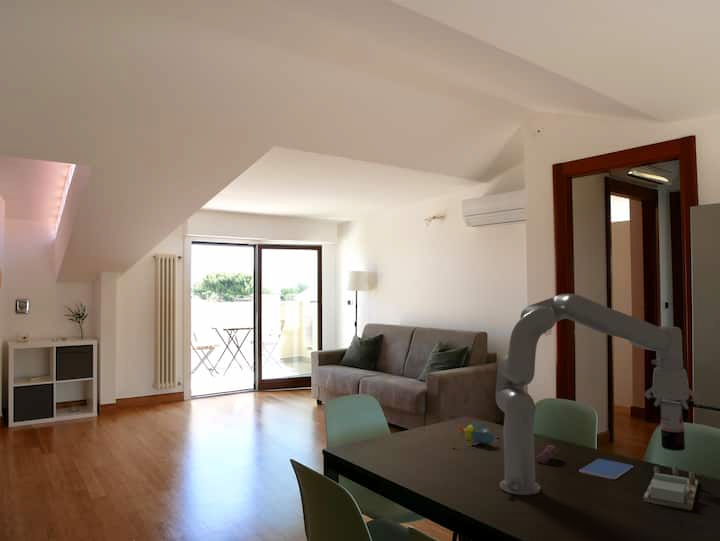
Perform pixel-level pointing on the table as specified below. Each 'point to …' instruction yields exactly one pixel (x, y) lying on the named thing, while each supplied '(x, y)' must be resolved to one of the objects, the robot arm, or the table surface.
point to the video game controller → (547, 454)
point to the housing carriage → (668, 488)
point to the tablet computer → (606, 469)
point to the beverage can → (672, 426)
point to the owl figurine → (477, 434)
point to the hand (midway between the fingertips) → (672, 419)
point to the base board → (690, 491)
